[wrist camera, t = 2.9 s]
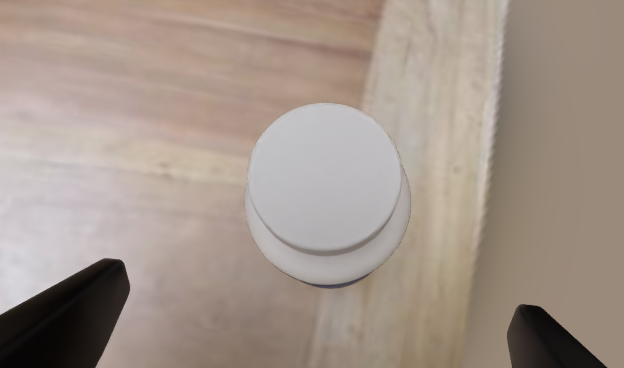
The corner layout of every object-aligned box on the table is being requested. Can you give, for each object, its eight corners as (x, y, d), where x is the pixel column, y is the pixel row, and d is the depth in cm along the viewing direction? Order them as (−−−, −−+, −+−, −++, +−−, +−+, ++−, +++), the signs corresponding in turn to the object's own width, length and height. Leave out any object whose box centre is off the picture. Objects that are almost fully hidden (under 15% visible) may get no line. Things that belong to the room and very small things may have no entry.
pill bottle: (392, 286, 19) (444, 279, 9) (276, 290, 19) (215, 288, 10) (382, 174, 20) (420, 70, 11) (275, 180, 21) (220, 83, 11)
